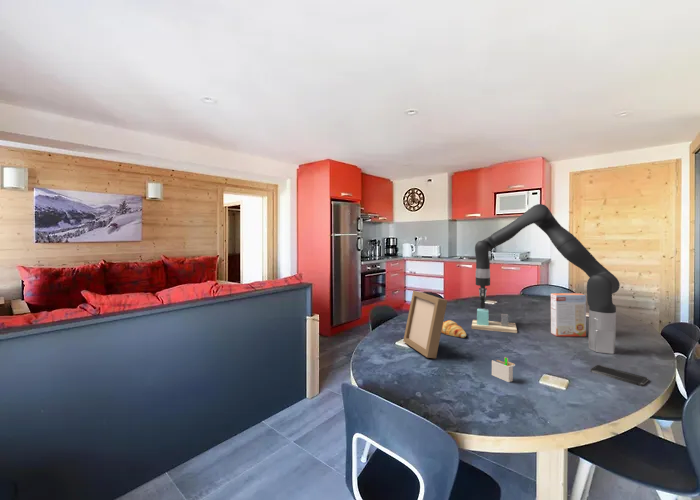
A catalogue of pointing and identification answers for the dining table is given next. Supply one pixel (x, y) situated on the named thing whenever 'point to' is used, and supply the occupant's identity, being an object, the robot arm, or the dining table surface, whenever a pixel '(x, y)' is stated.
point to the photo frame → (425, 323)
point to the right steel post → (504, 320)
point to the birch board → (495, 327)
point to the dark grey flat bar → (620, 375)
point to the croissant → (453, 329)
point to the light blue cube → (482, 316)
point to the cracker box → (568, 314)
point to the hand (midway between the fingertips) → (482, 307)
